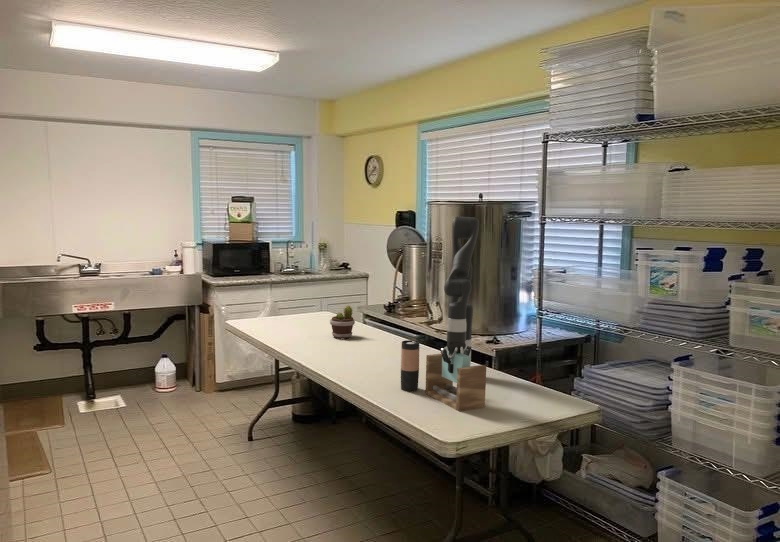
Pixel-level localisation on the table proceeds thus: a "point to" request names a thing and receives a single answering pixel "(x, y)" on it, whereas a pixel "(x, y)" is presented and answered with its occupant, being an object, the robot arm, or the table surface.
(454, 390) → the slotted wooden stand
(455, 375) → the pale teal rectangular block
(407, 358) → the travel mug
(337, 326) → the flowerpot
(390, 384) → the table surface
